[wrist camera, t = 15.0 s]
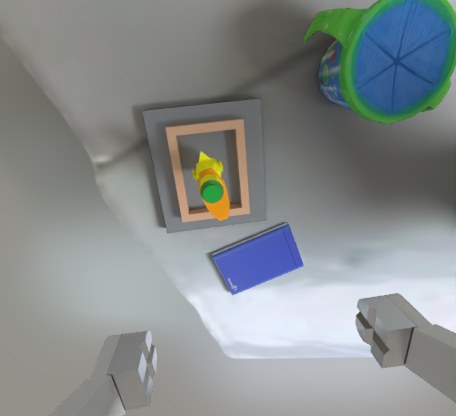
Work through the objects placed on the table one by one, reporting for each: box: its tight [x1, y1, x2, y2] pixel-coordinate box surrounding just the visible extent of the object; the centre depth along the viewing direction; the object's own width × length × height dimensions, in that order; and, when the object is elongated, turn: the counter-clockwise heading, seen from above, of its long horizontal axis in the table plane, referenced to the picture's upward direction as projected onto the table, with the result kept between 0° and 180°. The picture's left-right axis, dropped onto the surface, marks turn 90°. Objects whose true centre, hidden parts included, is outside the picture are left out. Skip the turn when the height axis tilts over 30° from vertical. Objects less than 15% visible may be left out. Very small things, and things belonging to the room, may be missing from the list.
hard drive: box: [212, 223, 304, 295], centre depth 41 cm, size 2×8×12 cm
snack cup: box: [303, 0, 456, 124], centre depth 28 cm, size 16×10×10 cm
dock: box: [142, 99, 266, 233], centre depth 34 cm, size 14×16×3 cm
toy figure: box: [192, 152, 230, 221], centre depth 28 cm, size 7×4×12 cm, turn 18°
